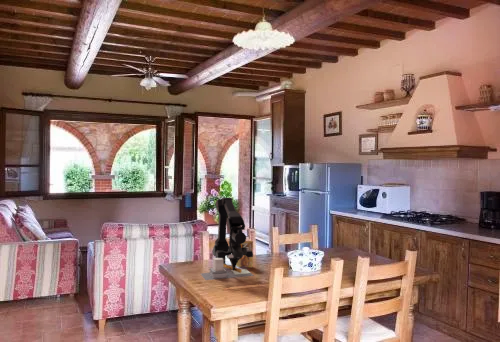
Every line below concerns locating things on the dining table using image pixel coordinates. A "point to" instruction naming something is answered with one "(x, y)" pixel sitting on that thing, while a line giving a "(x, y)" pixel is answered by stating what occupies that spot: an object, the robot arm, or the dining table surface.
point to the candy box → (246, 260)
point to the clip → (232, 268)
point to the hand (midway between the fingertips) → (233, 270)
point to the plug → (218, 266)
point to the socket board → (226, 274)
